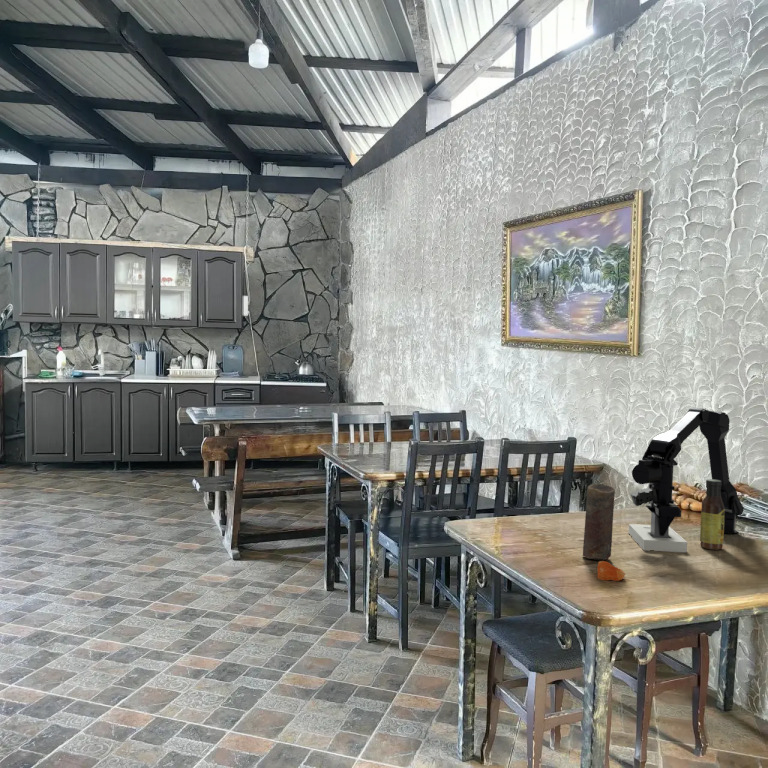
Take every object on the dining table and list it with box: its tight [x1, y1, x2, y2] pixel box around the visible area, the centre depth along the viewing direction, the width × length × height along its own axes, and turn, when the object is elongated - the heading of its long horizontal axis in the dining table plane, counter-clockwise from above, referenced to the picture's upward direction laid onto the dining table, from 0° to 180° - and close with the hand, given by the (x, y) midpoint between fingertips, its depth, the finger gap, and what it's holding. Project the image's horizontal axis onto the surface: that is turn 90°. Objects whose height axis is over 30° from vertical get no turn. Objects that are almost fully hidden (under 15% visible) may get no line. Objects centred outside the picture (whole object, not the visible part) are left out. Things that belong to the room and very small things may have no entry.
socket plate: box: [627, 523, 688, 553], centre depth 209 cm, size 18×12×3 cm, turn 174°
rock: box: [597, 560, 626, 582], centre depth 176 cm, size 12×12×4 cm
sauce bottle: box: [699, 478, 725, 551], centre depth 205 cm, size 7×6×20 cm
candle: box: [582, 483, 616, 561], centre depth 191 cm, size 8×7×20 cm
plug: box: [650, 511, 669, 538], centre depth 206 cm, size 4×4×8 cm
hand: (659, 533), depth 206 cm, fingers closed on plug, 4 cm apart
